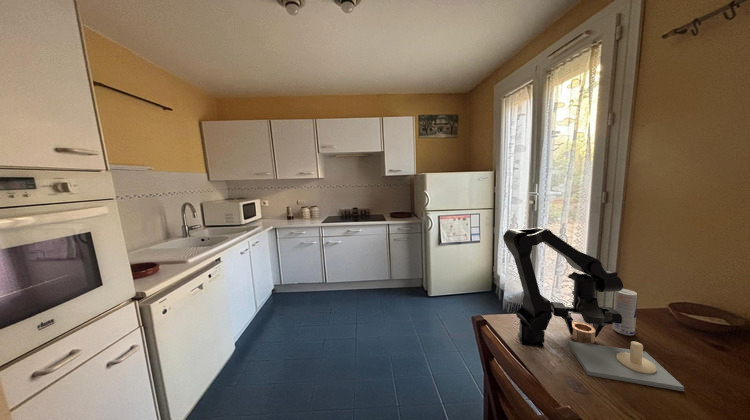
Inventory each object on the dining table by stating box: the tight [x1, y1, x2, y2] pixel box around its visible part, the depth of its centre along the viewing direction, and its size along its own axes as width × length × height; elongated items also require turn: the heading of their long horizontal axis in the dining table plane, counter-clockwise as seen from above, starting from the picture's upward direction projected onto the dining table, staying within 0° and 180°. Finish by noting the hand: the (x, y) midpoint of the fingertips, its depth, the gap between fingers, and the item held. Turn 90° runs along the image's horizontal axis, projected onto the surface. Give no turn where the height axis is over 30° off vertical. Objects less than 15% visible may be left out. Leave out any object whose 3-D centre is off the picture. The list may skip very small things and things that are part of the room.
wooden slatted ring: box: [569, 321, 596, 345], centre depth 86 cm, size 6×6×4 cm
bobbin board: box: [567, 340, 685, 392], centre depth 73 cm, size 20×14×7 cm
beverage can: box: [612, 288, 638, 336], centre depth 88 cm, size 6×6×15 cm
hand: (582, 335), depth 86 cm, fingers closed on wooden slatted ring, 6 cm apart
